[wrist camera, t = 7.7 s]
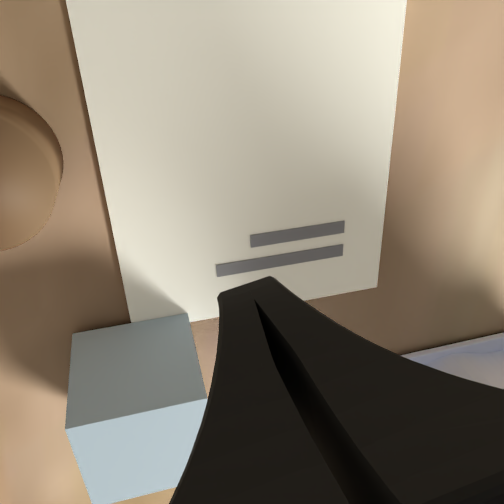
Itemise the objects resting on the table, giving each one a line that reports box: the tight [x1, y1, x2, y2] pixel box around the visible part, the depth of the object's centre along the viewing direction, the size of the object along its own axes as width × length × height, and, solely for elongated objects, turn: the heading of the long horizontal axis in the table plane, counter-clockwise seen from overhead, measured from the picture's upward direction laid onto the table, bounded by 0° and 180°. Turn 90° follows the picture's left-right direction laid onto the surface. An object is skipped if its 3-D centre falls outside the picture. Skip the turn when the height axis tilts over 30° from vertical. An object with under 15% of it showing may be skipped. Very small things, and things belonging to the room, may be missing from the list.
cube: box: [65, 313, 207, 504], centre depth 20 cm, size 5×5×5 cm
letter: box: [66, 0, 407, 323], centre depth 19 cm, size 12×16×1 cm
